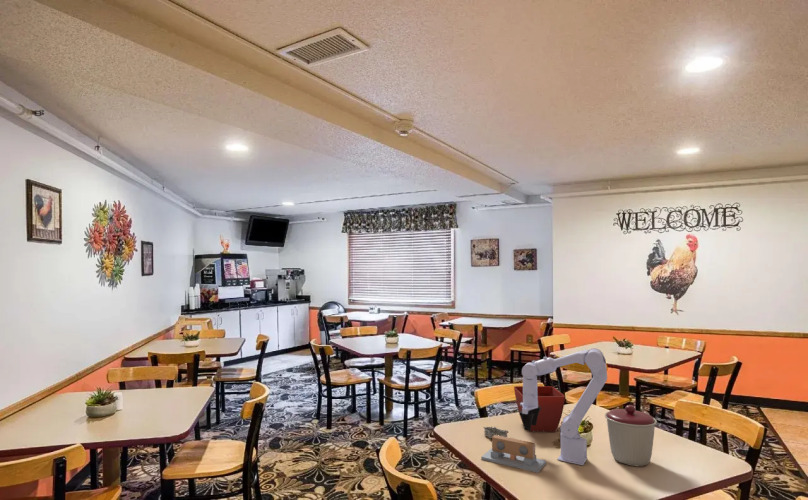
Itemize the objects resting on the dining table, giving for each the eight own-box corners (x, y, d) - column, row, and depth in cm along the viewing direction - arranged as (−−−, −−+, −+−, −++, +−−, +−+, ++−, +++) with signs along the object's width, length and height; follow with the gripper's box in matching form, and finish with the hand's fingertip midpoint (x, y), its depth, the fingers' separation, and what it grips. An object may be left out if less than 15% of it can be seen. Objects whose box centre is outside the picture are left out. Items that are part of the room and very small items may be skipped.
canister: (664, 461, 179) (663, 405, 180) (647, 475, 167) (646, 415, 168) (616, 448, 193) (616, 396, 194) (597, 460, 180) (596, 405, 181)
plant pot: (513, 420, 227) (513, 385, 228) (552, 420, 227) (552, 385, 228) (523, 434, 208) (523, 396, 209) (566, 434, 208) (565, 396, 209)
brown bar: (535, 456, 176) (535, 442, 176) (532, 459, 173) (532, 445, 174) (494, 447, 185) (494, 434, 185) (491, 450, 182) (491, 437, 182)
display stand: (545, 463, 177) (545, 455, 178) (538, 472, 169) (538, 464, 169) (491, 450, 189) (491, 443, 189) (481, 459, 181) (481, 451, 181)
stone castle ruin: (509, 441, 201) (509, 431, 201) (494, 443, 199) (494, 433, 199) (496, 432, 211) (496, 423, 211) (482, 434, 209) (482, 425, 209)
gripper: (526, 388, 197) (526, 420, 196) (514, 396, 185) (514, 430, 184) (542, 390, 193) (543, 423, 192) (532, 398, 181) (532, 434, 180)
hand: (530, 427), depth 188 cm, fingers open, 7 cm apart
